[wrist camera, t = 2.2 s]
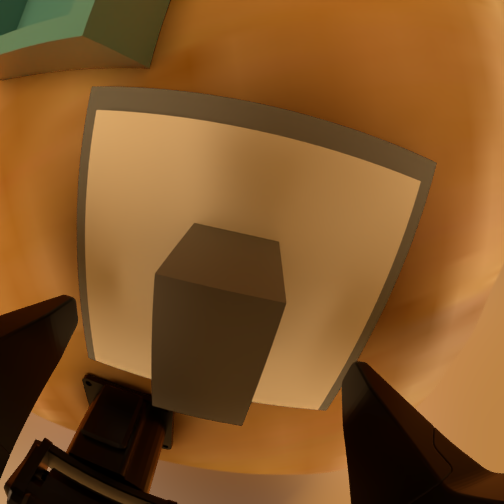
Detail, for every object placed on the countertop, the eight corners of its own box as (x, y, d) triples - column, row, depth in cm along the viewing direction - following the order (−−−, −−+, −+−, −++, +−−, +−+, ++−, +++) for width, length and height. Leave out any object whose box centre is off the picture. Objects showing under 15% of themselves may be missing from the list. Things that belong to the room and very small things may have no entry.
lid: (316, 398, 14) (326, 472, 10) (101, 351, 14) (62, 414, 9) (411, 178, 10) (490, 209, 5) (106, 110, 9) (21, 106, 5)
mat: (324, 398, 16) (326, 410, 15) (95, 347, 15) (88, 357, 14) (425, 160, 10) (436, 163, 9) (103, 89, 10) (91, 86, 9)
